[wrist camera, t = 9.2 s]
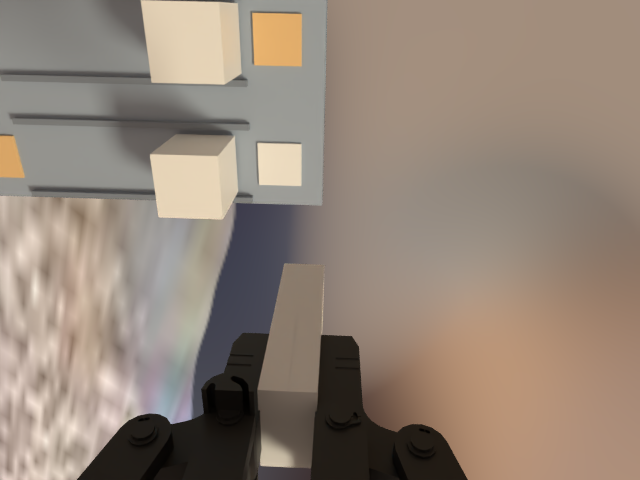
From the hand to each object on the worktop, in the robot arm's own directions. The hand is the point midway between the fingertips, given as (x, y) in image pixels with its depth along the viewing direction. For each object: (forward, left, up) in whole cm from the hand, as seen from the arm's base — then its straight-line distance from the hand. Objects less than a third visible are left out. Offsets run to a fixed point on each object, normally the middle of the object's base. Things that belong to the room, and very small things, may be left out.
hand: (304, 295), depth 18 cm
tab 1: (-8, -7, -17) cm, 20 cm away
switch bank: (-4, -13, -19) cm, 23 cm away
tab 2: (0, -8, -17) cm, 18 cm away
